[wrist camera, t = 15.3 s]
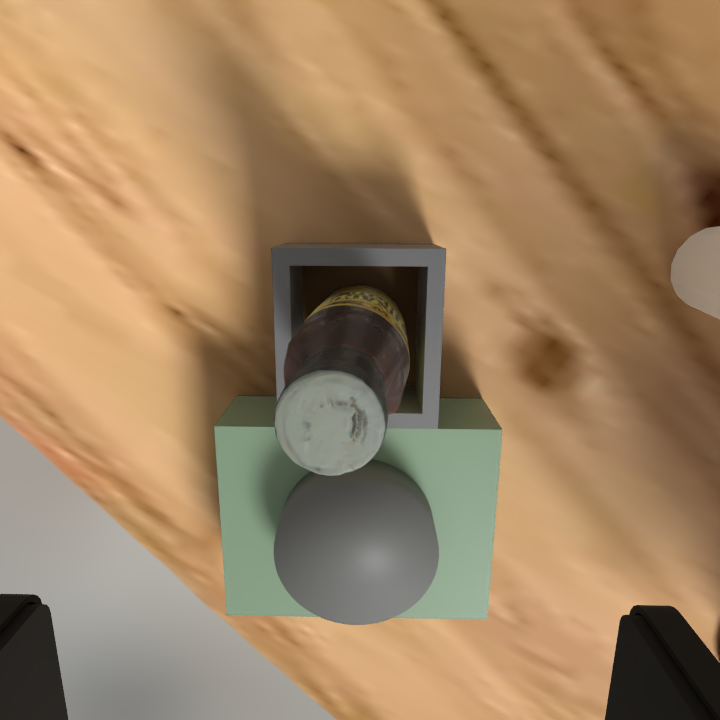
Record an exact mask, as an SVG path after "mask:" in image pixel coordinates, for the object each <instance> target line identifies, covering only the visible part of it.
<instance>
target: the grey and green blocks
mask: <svg viewBox="0 0 720 720" xmlns="http://www.w3.org/2000/svg"><path fill="white" fill-rule="evenodd" d="M271 249H272V277H273V305H274V334H275V362H276V390H277V396H236V398H235V399H234V400H233V402H232V403H231V404H230V406H229V407H228V408H227V410H226V411H225V412H224V414H223V415H222V416H221V418H220V419H219V421H218V422H217V423H216V425H215V426H214V432H215V447H216V461H217V476H218V491H219V506H220V521H221V535H222V550H223V565H224V580H225V595H226V609H227V615H241V616H301V617H321V618H323V619H326V620H329V621H333V622H337V623H342V624H350V625H366V624H373V623H378V622H382V621H386V620H388V619H391V618H421V619H481V620H487V618H488V605H489V592H490V580H491V567H492V554H493V542H494V529H495V516H496V504H497V491H498V478H499V466H500V453H501V440H502V428H501V427H500V425H499V424H498V422H497V421H496V419H495V417H494V416H493V414H492V413H491V411H490V409H489V408H488V406H487V405H486V403H485V402H484V400H483V398H439V395H440V373H441V351H442V329H443V308H444V286H445V264H446V249H445V248H442V247H440V246H437V245H435V244H337V243H286V244H282V245H279V246H276V247H272V248H271ZM302 266H418V293H417V323H416V353H415V383H414V385H405V388H404V391H403V395H402V398H401V402H400V405H399V407H398V409H397V411H396V412H395V413H393V414H389V415H388V424H387V430H386V434H385V438H384V440H383V442H382V444H381V447H380V449H379V451H378V452H377V453H376V454H375V455H374V457H373V459H372V460H370V461H369V462H368V463H367V464H365V465H364V466H363V467H361V468H358V469H356V470H354V471H352V472H349V473H345V474H342V475H335V476H327V475H320V474H316V473H314V472H312V471H310V470H308V469H305V468H303V467H301V466H299V465H298V464H296V463H295V462H293V461H292V460H291V459H290V458H289V457H288V455H287V454H286V453H285V452H284V450H283V449H282V447H281V445H280V443H279V441H278V439H277V438H276V433H275V427H274V413H275V408H276V404H277V401H278V399H279V397H280V395H281V393H282V391H283V389H284V387H285V383H284V376H283V375H284V369H283V368H284V361H285V356H286V353H287V348H288V344H289V342H290V341H291V339H292V338H293V337H294V336H295V334H296V333H297V332H298V330H299V328H300V327H301V325H302V324H303V287H302Z"/></svg>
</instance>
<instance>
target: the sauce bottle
mask: <svg viewBox="0 0 720 720" xmlns="http://www.w3.org/2000/svg"><path fill="white" fill-rule="evenodd" d="M283 369H284V375H283V376H284V383H285V387H284V389H283V391H282V393H281V395H280V397H279V399H278V401H277V404H276V408H275V413H274V427H275V433H276V438H277V439H278V441H279V443H280V445H281V447H282V449H283V450H284V452H285V453H286V454H287V455H288V457H289V458H290V459H291V460H292V461H293V462H295V463H296V464H298V465H299V466H301V467H303V468H305V469H308V470H310V471H312V472H314V473H316V474H320V475H327V476H335V475H342V474H345V473H349V472H352V471H354V470H356V469H358V468H361V467H363V466H364V465H365V464H367V463H368V462H369V461H370V460H372V459H373V457H374V455H375V454H376V453H377V452H378V451H379V449H380V447H381V444H382V442H383V440H384V438H385V434H386V430H387V424H388V415H389V414H393V413H395V412H396V411H397V409H398V407H399V405H400V402H401V398H402V395H403V391H404V388H405V384H406V381H407V377H408V374H409V369H410V356H409V347H408V339H407V334H406V329H405V322H404V318H403V316H402V313H401V311H400V309H399V307H398V306H397V304H396V303H395V302H394V301H393V300H392V299H391V298H390V297H389V296H388V295H387V294H385V293H384V292H382V291H380V290H378V289H376V288H374V287H370V286H366V285H351V286H346V287H344V288H341V289H338V290H336V291H335V292H333V293H332V294H330V295H329V296H328V297H327V298H326V299H325V300H324V301H323V302H322V303H321V304H320V305H319V306H318V307H317V308H316V309H315V310H314V311H313V312H312V313H311V314H310V316H309V317H308V318H307V319H306V320H305V321H304V323H303V324H302V325H301V327H300V328H299V330H298V332H297V333H296V334H295V336H294V337H293V338H292V339H291V341H290V342H289V344H288V348H287V353H286V356H285V361H284V368H283Z"/></svg>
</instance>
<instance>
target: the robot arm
mask: <svg viewBox="0 0 720 720" xmlns="http://www.w3.org/2000/svg"><path fill="white" fill-rule="evenodd" d="M0 720H68V715H67V709H66V703H65V697H64V691H63V685H62V679H61V673H60V667H59V661H58V655H57V649H56V642H55V636H54V631H53V625H52V618H51V613H50V609H49V607H48V606H47V605H44V604H42V603H41V599H40V598H39V597H38V596H37V595H29V594H28V595H27V594H24V595H23V594H0ZM605 720H720V663H719V662H718V661H717V659H716V658H715V657H714V656H713V654H712V653H711V652H710V650H709V649H708V648H707V647H706V645H705V644H704V643H703V642H702V640H701V639H700V638H699V637H698V635H697V634H696V633H695V631H694V630H693V629H692V628H691V626H690V625H689V624H688V623H687V621H686V620H685V619H684V617H683V616H682V615H681V614H680V612H679V611H678V610H677V609H675V608H674V607H672V606H647V605H636V606H633V608H632V609H631V611H630V615H623V616H622V617H621V620H620V624H619V631H618V637H617V644H616V650H615V657H614V663H613V670H612V677H611V683H610V690H609V696H608V703H607V709H606V716H605Z"/></svg>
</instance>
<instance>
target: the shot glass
mask: <svg viewBox="0 0 720 720" xmlns="http://www.w3.org/2000/svg"><path fill="white" fill-rule="evenodd" d="M671 283H672V286H673V288H674V291H675V293H676V295H677V296H678V297H679V298H680V299H681V300H682V301H683V302H684V303H686V304H687V305H689V306H691V307H693V308H695V309H697V310H700V311H702V312H704V313H706V314H709V315H711V316H713V317H715V318H717V319H720V226H718V227H710V228H705V229H703V230H701V231H699V232H697V233H695V234H693V235H691V236H690V237H689V238H688V239H687V240H686V241H685V242H684V243H683V244H682V245H681V246H680V247H679V248H678V250H677V252H676V255H675V257H674V259H673V262H672V264H671Z"/></svg>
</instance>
